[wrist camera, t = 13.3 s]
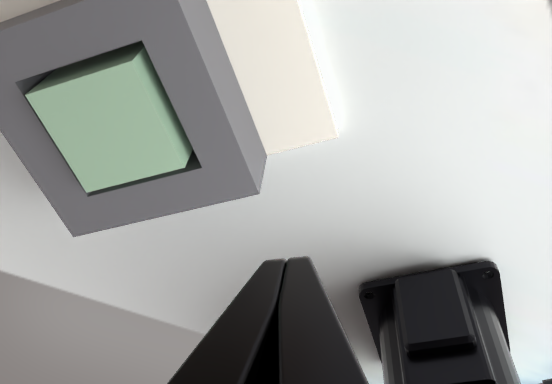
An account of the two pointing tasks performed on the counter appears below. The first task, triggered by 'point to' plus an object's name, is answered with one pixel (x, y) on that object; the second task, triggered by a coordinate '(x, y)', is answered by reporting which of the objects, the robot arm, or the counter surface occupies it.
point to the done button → (112, 118)
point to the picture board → (169, 95)
